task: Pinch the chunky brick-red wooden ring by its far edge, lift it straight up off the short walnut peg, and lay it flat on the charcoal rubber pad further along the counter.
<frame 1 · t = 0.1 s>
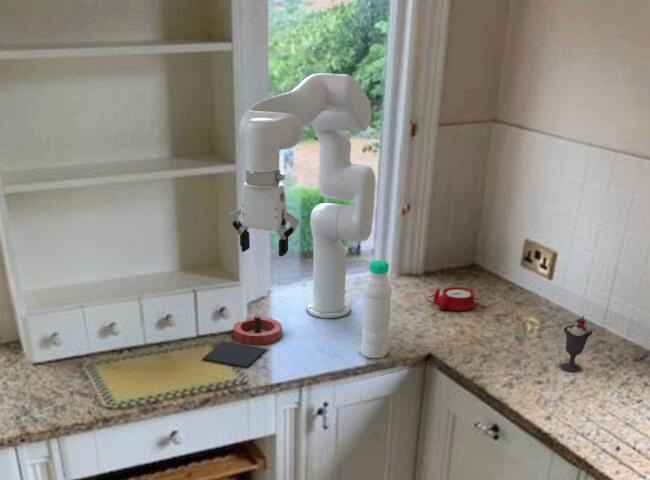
hand: (264, 252, 188), 31 cm above the worktop, tool pointing down, fingers open, 9 cm apart
water bottle: (373, 354, 213), on the worktop
sundae: (570, 368, 204), on the worktop
ring: (257, 334, 225), on the worktop
alarm clock: (451, 306, 242), on the worktop
peg stand: (257, 334, 225), on the worktop
mat: (234, 355, 213), on the worktop
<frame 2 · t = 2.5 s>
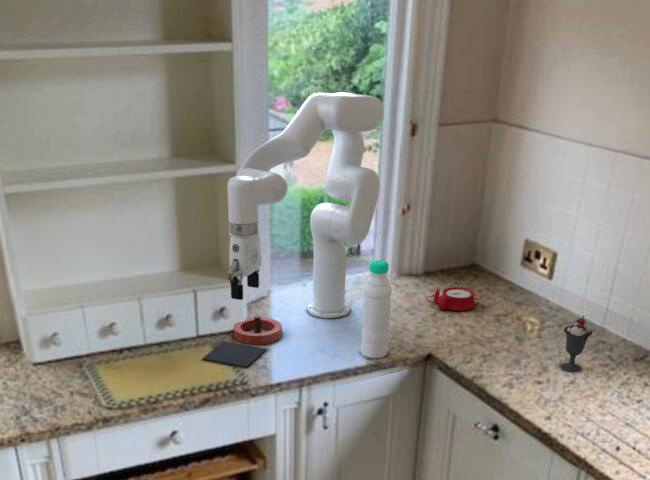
hand: (245, 292, 210), 15 cm above the worktop, tool pointing down, fingers open, 9 cm apart
nothing on the worktop moved.
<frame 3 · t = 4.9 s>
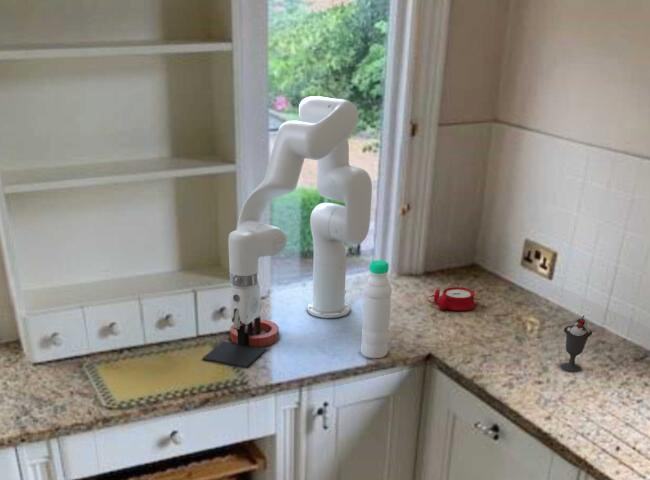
hand: (245, 342, 219), 1 cm above the worktop, tool pointing down, fingers closed on ring, 2 cm apart
ring: (254, 337, 223), on the worktop, touching gripper, mat
everything else where it was.
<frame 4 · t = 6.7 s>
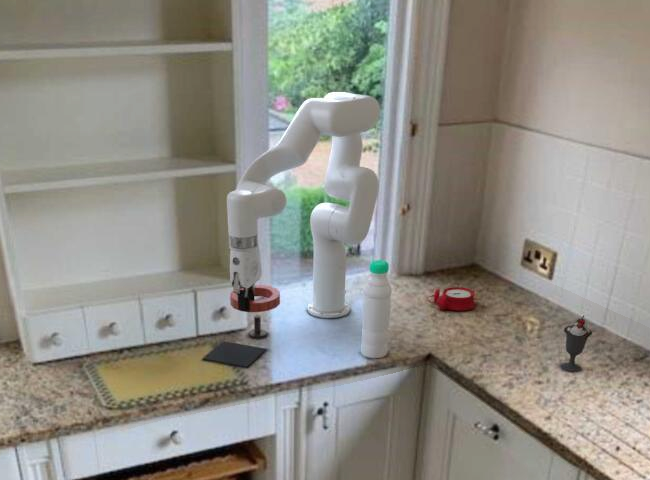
hand: (246, 307, 214), 11 cm above the worktop, tool pointing down, fingers closed on ring
ring: (255, 302, 218), point 10 cm above the worktop, touching gripper
everything else where it was.
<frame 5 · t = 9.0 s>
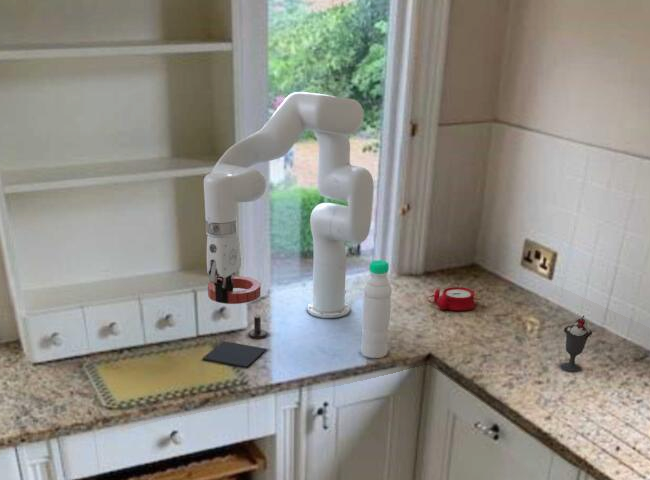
hand: (224, 299, 201), 17 cm above the worktop, tool pointing down, fingers closed on ring
ring: (234, 294, 206), point 17 cm above the worktop, touching gripper
everything else where it was.
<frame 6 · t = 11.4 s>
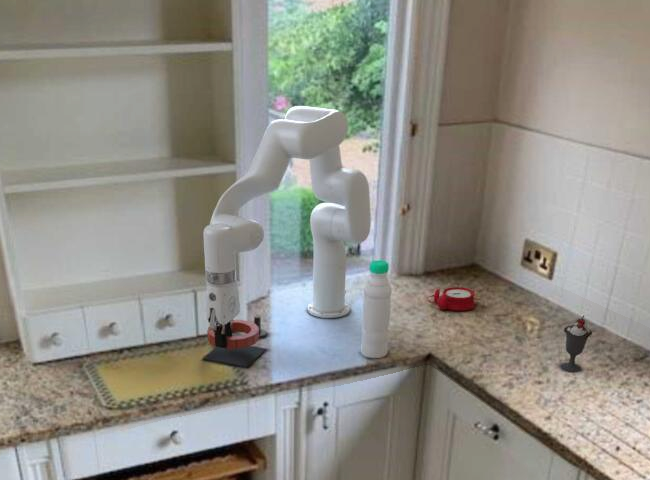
hand: (223, 344, 206), 6 cm above the worktop, tool pointing down, fingers closed on ring
ring: (233, 338, 211), point 5 cm above the worktop, touching gripper
everything else where it was.
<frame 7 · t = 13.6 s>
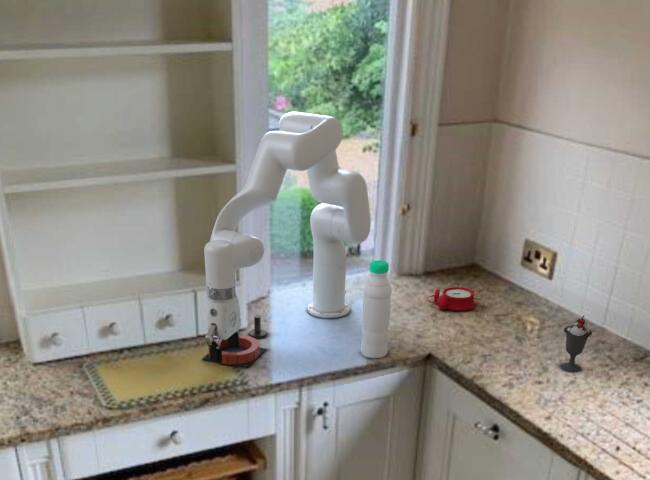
hand: (224, 354, 208), 3 cm above the worktop, tool pointing down, fingers open, 9 cm apart
ring: (234, 353, 213), resting on mat
everything else where it was.
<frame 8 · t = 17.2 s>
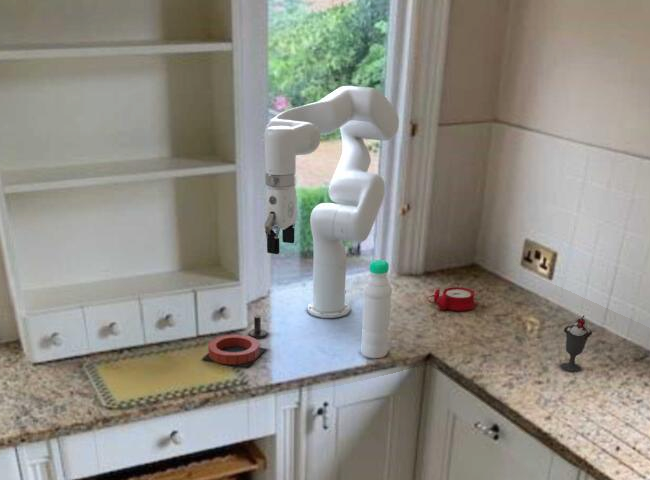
hand: (281, 247, 207), 26 cm above the worktop, tool pointing down, fingers open, 9 cm apart
nothing on the worktop moved.
at the end: ring 0.2 cm off-centre on the mat, point 0.5 cm above the mat's base; ring tilted 0°; the gripper is holding nothing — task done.
